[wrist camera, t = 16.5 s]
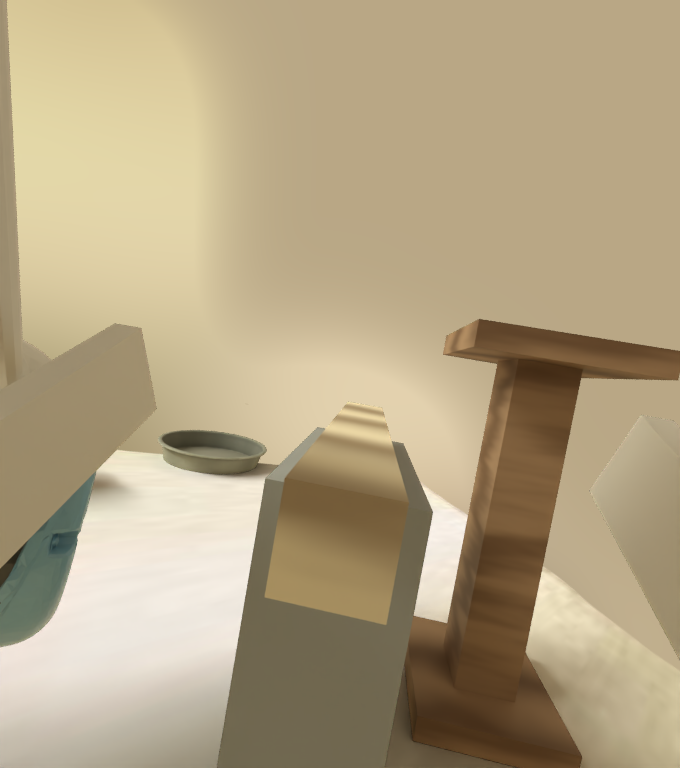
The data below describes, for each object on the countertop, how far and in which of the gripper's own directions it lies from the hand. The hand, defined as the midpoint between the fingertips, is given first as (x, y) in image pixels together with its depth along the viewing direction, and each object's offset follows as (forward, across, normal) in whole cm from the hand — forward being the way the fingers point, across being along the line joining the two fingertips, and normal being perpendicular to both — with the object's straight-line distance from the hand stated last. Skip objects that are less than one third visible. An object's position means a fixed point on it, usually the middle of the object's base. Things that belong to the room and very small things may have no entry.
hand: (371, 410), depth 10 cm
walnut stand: (+7, +14, -34) cm, 38 cm away
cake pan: (+52, -33, -61) cm, 87 cm away
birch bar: (+7, 0, -9) cm, 11 cm away
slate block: (0, 0, -30) cm, 30 cm away
